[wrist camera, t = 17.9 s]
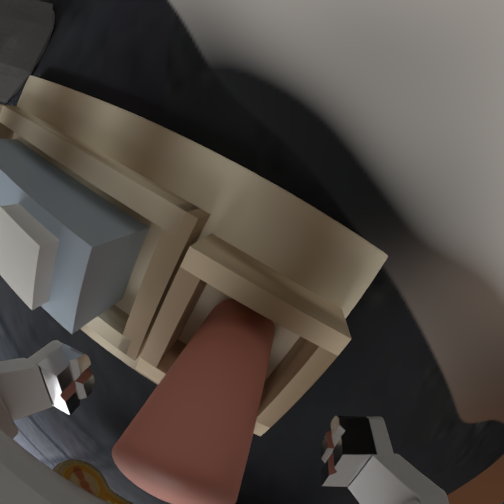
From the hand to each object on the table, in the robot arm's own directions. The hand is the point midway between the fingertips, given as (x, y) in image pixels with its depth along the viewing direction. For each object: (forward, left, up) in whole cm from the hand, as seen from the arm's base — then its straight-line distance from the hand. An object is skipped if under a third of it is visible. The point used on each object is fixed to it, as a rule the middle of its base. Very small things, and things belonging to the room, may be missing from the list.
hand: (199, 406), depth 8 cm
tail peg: (0, 0, -5) cm, 5 cm away
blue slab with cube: (-11, 0, -5) cm, 12 cm away
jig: (-8, 0, -6) cm, 10 cm away
